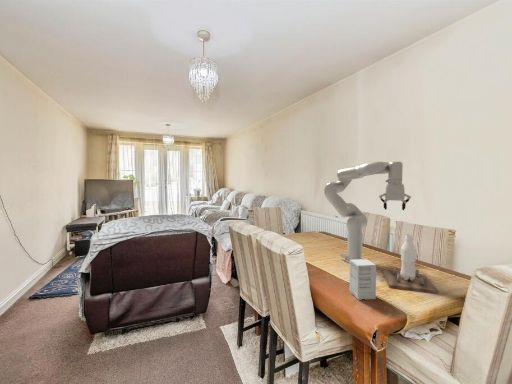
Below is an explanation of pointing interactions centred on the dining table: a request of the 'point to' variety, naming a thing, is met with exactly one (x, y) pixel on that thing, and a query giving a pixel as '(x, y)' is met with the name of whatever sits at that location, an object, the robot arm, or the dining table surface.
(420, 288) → the peg stand
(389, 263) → the dining table surface
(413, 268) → the water bottle
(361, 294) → the supplement box
